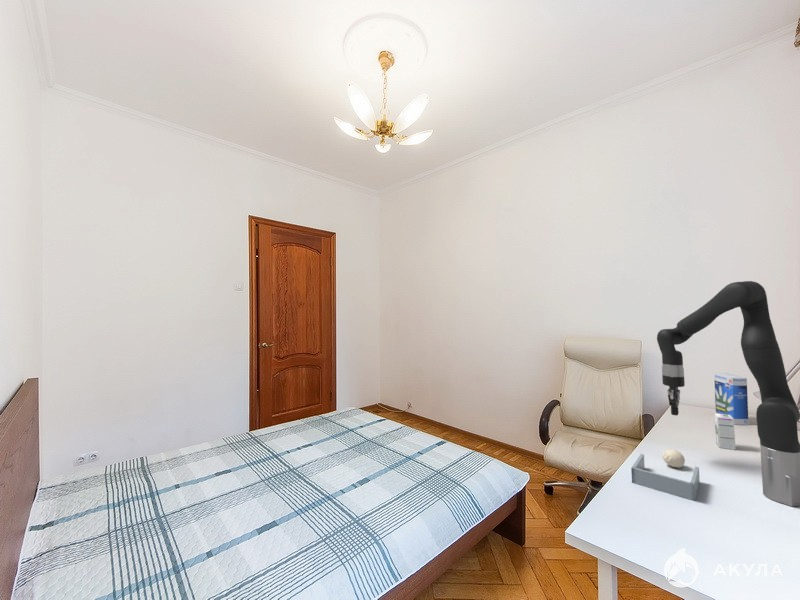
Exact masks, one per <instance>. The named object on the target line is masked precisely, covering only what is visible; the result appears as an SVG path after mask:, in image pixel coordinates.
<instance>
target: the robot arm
mask: <svg viewBox="0 0 800 600" xmlns="http://www.w3.org/2000/svg"><path fill="white" fill-rule="evenodd" d="M737 308H740V311H741V314H742V318H743V327H742V332H741V338H740V346H741V347H740V348H741V350H742V355H743V358H744V361H745V364H746V365H747V368H748V370H749V371H750V373H751V374H752V375H753V377H754V379H755V382H756V383H757V386H758V388H759V389H758V390H759V394H760V399H761V403H760V404H759V405H758V406H757V408H756V412H755V413H756V426H757V427H756V428H757V436H758V439H759V444H760V445H759V447H760V462H761V463H760V464H761V466H760V467H761V481H762V482H761V483H762V495H764V496H765V498H768V499H770V500H772V501H774V502H778V503H780V504H784V505H788V506H790V507H792V506H793V507H800V441H799V435H798V423H799V421H800V409H799V407H798V405H797V403H796V401H795V399H794V396H793V394H792V392H791V389H790V386H789V383H788V380H787V372H786V368H785V364H784V358H783V356H782V353H781V352H782V351H781V348H780V346H779V345H780V344H779V343H778V340H777V336H776V334H775V330H774V327H773V323H772V320H771V316H770V311H769V303H768V297H767V292H766V289H765V288H764V286H763V285H762V284H760V283H759V282H757V281H752V280H745V281H735V282H730V283H729V284H727V285H725V286H724V287H723V288H722V289H721V290H720V291H718V293H716V294H715V295H714V296H713V297H712V298H711V299H709V300H708V301H707V302H706V303H704V304H703V305H702V306H700V307H699V308H698V309H696V310H694V311H693V312H692V313H690V314H688V315H687V316H685V317H684V318H682V319H681V320H679V321H678V322H677V323H676V326H675V327H674V328H663V329H660V330H659V331H658V333H657V335H656V342H657V344H658V347H659V351H660V353H661V359H662V361H661V363H662V365H661V376H662V377H661V379H662V385H664V386H665V387H666V386H667V387H669V388H668V389H667V398H668V404H669V406H670V414H671V415H672V416H678V415H679V412H680V411H679V405H680V400H681V396H680V395H681V389H679V388H682V387H683V388H684V387H685V382H686V381H685V369H684V362H683V353H682V352H681V351H680V350H677V349H676V347H675V346H677V345H681V344H683V343H685V342H687V341H688V340H689V339H691V338H692V337H693V335H695V334H697V333H698V332H700V331H702V330H704V329H705V328H707V327H708V326H710V325H711V324H712V323H713V322H714V321H715V320H716V319H718V317H719V316H721V315H723V314H725V313H726V312H729V311H732V310H734V309H737Z"/></svg>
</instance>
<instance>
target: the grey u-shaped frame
mask: <svg viewBox="0 0 800 600" xmlns="http://www.w3.org/2000/svg"><path fill="white" fill-rule="evenodd" d="M645 466H646V465H645V454H644V453H640V454H639V456H638V458H637V459H636V460H635V462H634V463H633V465H632V466H631V483H633V484H636V485H638V486H643V487H646V488H648V489H649V488H650V489H653V490H657V491H658V492H662V493H666V494H669V495H673V496H676V497H680V498H684V499H686V500H690V501H693V502H696V500H697V499H696V498H697V496H698V489H699V488H700V487H699V486H700V483H701V481H700V468H699V467H698V466H695V467H694V471H693V474H692V476H691V480H690V482H689V481H687V480H682V479H678V478H675V477H672V476H667V475H663V474H660V473H656V472H652V471H649V470H645V469H646V468H645Z"/></svg>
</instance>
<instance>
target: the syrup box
mask: <svg viewBox="0 0 800 600" xmlns="http://www.w3.org/2000/svg"><path fill="white" fill-rule="evenodd" d="M713 415H714V427H715V428H714V429H715V441H716V445H717V446H718V447H719V448H720V449H724V450H732V451H733V450H734V451H736V437H735V435H736V434H735V425H734V421H733V418H732V417H731V416H730V415H727V414H716V413H714V414H713Z"/></svg>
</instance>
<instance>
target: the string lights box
mask: <svg viewBox="0 0 800 600" xmlns="http://www.w3.org/2000/svg"><path fill="white" fill-rule="evenodd" d="M713 375H714V403H715V414H727V415H730V416H731V417H732V418H733V421H734V426H735V425H736V426H749V399H748V398H749V397H748V379H747V377H742V376H739V375H735V374H730V373H724V372H722V373H721V372H717V373H716V372H714V374H713Z"/></svg>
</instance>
